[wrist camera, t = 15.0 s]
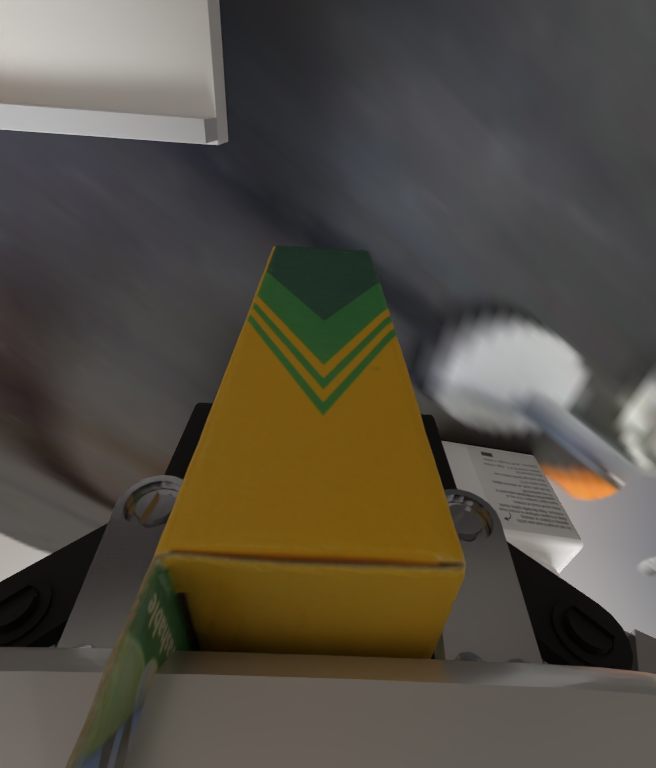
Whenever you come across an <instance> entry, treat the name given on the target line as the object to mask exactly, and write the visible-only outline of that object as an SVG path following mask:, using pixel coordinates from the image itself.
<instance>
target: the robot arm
mask: <svg viewBox="0 0 656 768" xmlns="http://www.w3.org/2000/svg"><path fill="white" fill-rule="evenodd" d="M220 385H221V384H220ZM213 403H214V402H213ZM213 403H198V404H197V405H196V406H195V408H194V410H193V412H192V415H191V417H190V419H189V421H188V424H187V426H186V428H185V430H184V432H183V435H182V437H181V439H180V441H179V444H178V446H177V448H176V450H175V453H174V455H173V457H172V459H171V461H170V464H169V466H168V468H167V470H166V473H165V475H161V476H154V477H150V478H147V479H144V480H141V481H139V482H138V483H136V484H134V485H133V486H131V487H129V488H128V489H127V490H126V491H125V492H124V493H123V494H122V495H121V497H120V498H119V500H118V502H117V503H116V505H115V508H114V510H113V512H112V515H111V517H110V520H109V522H108V523H107V524H105V525H104V526H102V527H100V528H98V529H96V530H94V531H93V532H91V533H89V534H87V535H85V536H84V537H82V538H80V539H78V540H76V541H74V542H73V543H71V544H69V545H67V546H65V547H63V548H62V549H60V550H58V551H56V552H54V553H52V554H51V555H49V556H47V557H45V558H43V559H41V560H40V561H38V562H36V563H34V564H32V565H31V566H29V567H27V568H25V569H23V570H21V571H20V572H18V573H16V574H14V575H12V576H10V577H9V578H7V579H5V580H3V581H1V582H0V768H65V767H66V765H67V762H68V760H69V758H70V755H71V753H72V751H73V749H74V746H75V744H76V742H77V739H78V737H79V735H80V733H81V730H82V728H83V726H84V723H85V721H86V719H87V716H88V713H89V711H90V708H91V705H92V703H93V700H94V697H95V694H96V692H97V689H98V686H99V683H100V680H101V677H102V674H103V671H104V668H105V666H106V663H107V661H108V659H109V656H110V654H111V652H112V650H113V647H114V645H115V643H116V641H117V639H118V637H119V635H120V633H121V631H122V629H123V627H124V625H125V622H126V620H127V618H128V616H129V613H130V611H131V609H132V606H133V604H134V602H135V599H136V597H137V595H138V592H139V590H140V587H141V585H142V582H143V580H144V577H145V575H146V573H147V570H148V568H149V566H150V564H151V561H152V559H153V557H154V554H155V551H156V549H157V546H158V543H159V541H160V538H161V536H162V533H163V531H164V528H165V526H166V523H167V521H168V519H169V516H170V514H171V511H172V509H173V506H174V504H175V501H176V498H177V496H178V493H179V490H180V487H181V485H182V482H183V480H184V477H185V474H186V472H187V469H188V467H189V464H190V462H191V459H192V457H193V454H194V452H195V450H196V447H197V445H198V442H199V440H200V437H201V434H202V431H203V429H204V426H205V423H206V420H207V418H208V415H209V413H210V410H211V408H212V405H213ZM421 417H422V421H423V425H424V428H425V432H426V435H427V438H428V441H429V444H430V447H431V450H432V453H433V456H434V460H435V463H436V466H437V469H438V473H439V476H440V479H441V482H442V485H443V489H444V492H445V495H446V498H447V502H448V505H449V509H450V512H451V516H452V520H453V523H454V526H455V529H456V532H457V535H458V538H459V541H460V544H461V547H462V550H463V554H464V558H465V561H466V568H465V576H464V580H463V582H462V584H461V586H460V588H459V591H458V594H457V596H456V598H455V601H454V603H453V605H452V610H451V613H450V615H449V617H448V619H447V621H446V623H445V626H444V628H443V631H442V635H441V636H440V638H439V640H438V643H437V646H436V649H435V651H434V653H433V655H432V657H431V659H412V658H386V657H358V656H329V655H300V654H270V653H240V652H208V651H175V652H173V653H172V654H171V655H170V656H169V657H168V658H167V659H166V660H165V661H164V662H163V663H162V665H161V666H160V667H159V668H158V669H157V670H156V671H155V673H154V674H153V677H152V680H151V683H150V686H149V689H148V692H147V695H146V698H145V702H144V705H143V708H142V711H141V714H140V717H139V720H138V723H137V726H136V729H135V732H134V735H133V738H132V741H131V744H130V747H129V750H128V753H127V756H126V759H125V762H124V765H123V768H656V639H655V638H653V637H651V636H649V635H646V634H644V633H642V632H640V631H638V630H634V631H633V632H631V633H628V632H626V631H624V630H623V628H622V627H621V626H620V625H619V623H618V622H617V621H616V620H615V619H614V617H613V616H612V615H611V614H610V613H609V612H607V611H606V610H605V609H604V608H603V607H601V606H600V605H599V604H598V603H596V602H595V601H593V600H592V599H590V598H589V597H587V596H586V595H585V594H583V593H582V592H580V591H579V590H577V589H576V588H574V587H573V586H571V585H570V584H568V583H567V582H566V581H564V580H563V579H561V578H560V577H558V576H557V575H556V574H554V573H553V572H551V571H550V570H548V569H547V568H545V567H544V566H542V565H541V564H540V563H538V562H537V561H535V560H534V559H532V558H531V557H529V556H528V555H527V554H525V553H524V552H522V551H521V550H519V549H518V548H516V547H515V546H513V545H512V544H511V543H509V542H508V541H506V537H505V534H504V531H503V527H502V524H501V521H500V519H499V517H498V515H497V512H496V511H495V510H494V509H493V508H492V506H491V505H490V504H489V503H488V502H486V501H485V500H484V499H482V498H481V497H480V496H477V495H475V494H473V493H471V492H469V491H464V490H460V489H457V487H456V484H455V481H454V478H453V475H452V471H451V468H450V465H449V462H448V459H447V456H446V453H445V450H444V447H443V444H442V441H441V438H440V435H439V432H438V429H437V426H436V423H435V420H434V418H433V416H432V415H423V414H421Z"/></svg>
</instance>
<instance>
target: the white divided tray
mask: <svg viewBox="0 0 656 768" xmlns="http://www.w3.org/2000/svg"><path fill="white" fill-rule="evenodd" d="M0 129H5V130H18V131H32V132H46V133H59V134H73V135H87V136H100V137H114V138H128V139H141V140H155V141H169V142H182V143H196V144H210V145H220V144H223V143H226V142H228V128H227V113H226V97H225V82H224V66H223V51H222V35H221V20H220V4H219V0H0Z"/></svg>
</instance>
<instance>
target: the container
mask: <svg viewBox="0 0 656 768" xmlns="http://www.w3.org/2000/svg"><path fill="white" fill-rule="evenodd" d="M442 444H443V447H444V450H445V453H446V456H447V459H448V462H449V465H450V468H451V471H452V475H453V478H454V481H455V484H456V487H457V489H460V490H464V491H469V492H471V493H473V494H475V495H477V496H480V497H481V498H482V499H484V500H485V501H486V502H488V503H489V504H490V505H491V506H492V508H493V509H494V510H495V511H496V512H497V515H498V517H499V519H500V521H501V524H502V527H503V531H504V534H505V537H506V541H508V542H509V543H511V544H512V545H513V546H515V547H516V548H518V549H519V550H521V551H522V552H524V553H525V554H527V555H528V556H529V557H531V558H532V559H534V560H535V561H537V562H538V563H540V564H541V565H542V566H544V567H545V568H547V569H548V570H550V571H551V572H553V573H554V574H556V575H557V576H558V577H560V575H559V573H560V572H561V570H562V569H563V568H564V567H565V566H566V565H567V564H568V563H569V562H570V561H571V560H572V559H573V557H574V556H575V555H576V554H577V553H578V552H579V551H580V550H581V549H582V547H583V542H582V540H581V538H580V536H579V535H578V533H577V531H576V529H575V528H574V526H573V524H572V522H571V521H570V519H569V517H568V515H567V513H566V512H565V510H564V508H563V507H562V505H561V503H560V501H559V499H558V497H557V496H556V494H555V492H554V490H553V489H552V487H551V485H550V483H549V482H548V480H547V478H546V476H545V475H544V473H543V471H542V469H541V467H540V466H539V464H538V462H537V460H536V459H535V457H534V456H532V455H528V454H522V453H516V452H509V451H503V450H497V449H491V448H484V447H478V446H472V445H466V444H460V443H453V442H447V441H442Z"/></svg>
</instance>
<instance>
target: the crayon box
mask: <svg viewBox="0 0 656 768" xmlns="http://www.w3.org/2000/svg"><path fill="white" fill-rule="evenodd" d="M465 568H466V561H465V558H464V554H463V550H462V547H461V544H460V541H459V538H458V535H457V532H456V529H455V526H454V523H453V520H452V516H451V512H450V509H449V505H448V502H447V498H446V495H445V492H444V489H443V485H442V482H441V479H440V476H439V473H438V469H437V466H436V463H435V460H434V456H433V453H432V450H431V447H430V444H429V441H428V438H427V435H426V432H425V428H424V425H423V421H422V417H421V413H420V410H419V406H418V403H417V401H416V397H415V393H414V390H413V387H412V384H411V380H410V377H409V374H408V370H407V367H406V363H405V361H404V358H403V355H402V351H401V347H400V345H399V342H398V339H397V336H396V333H395V329H394V326H393V323H392V320H391V316H390V313H389V310H388V308H387V304H386V300H385V297H384V294H383V290H382V287H381V284H380V281H379V278H378V275H377V272H376V269H375V266H374V263H373V260H372V257H371V254H370V252H369V251H365V250H342V249H327V248H307V247H288V246H274V247H273V248H272V251H271V254H270V256H269V259H268V262H267V265H266V267H265V270H264V273H263V275H262V277H261V280H260V282H259V285H258V288H257V291H256V293H255V296H254V299H253V302H252V305H251V307H250V310H249V312H248V315H247V318H246V320H245V323H244V326H243V328H242V330H241V333H240V335H239V338H238V341H237V344H236V346H235V348H234V351H233V353H232V356H231V359H230V361H229V364H228V366H227V369H226V371H225V374H224V377H223V379H222V382H221V385H220V387H219V390H218V392H217V395H216V397H215V400H214V403H213V405H212V408H211V410H210V413H209V415H208V418H207V420H206V423H205V426H204V429H203V431H202V434H201V437H200V440H199V442H198V445H197V447H196V450H195V452H194V454H193V457H192V459H191V462H190V464H189V467H188V469H187V472H186V474H185V477H184V480H183V482H182V485H181V487H180V490H179V493H178V496H177V498H176V501H175V504H174V506H173V509H172V511H171V514H170V516H169V519H168V521H167V523H166V526H165V528H164V531H163V533H162V536H161V538H160V541H159V543H158V546H157V549H156V551H155V554H154V557H153V559H152V561H151V564H150V566H149V568H148V570H147V573H146V575H145V577H144V580H143V582H142V585H141V587H140V590H139V592H138V595H137V597H136V599H135V602H134V604H133V606H132V609H131V611H130V613H129V616H128V618H127V620H126V622H125V625H124V627H123V629H122V631H121V633H120V635H119V637H118V639H117V641H116V643H115V645H114V647H113V650H112V652H111V654H110V656H109V659H108V661H107V663H106V666H105V668H104V671H103V674H102V677H101V680H100V683H99V686H98V689H97V692H96V694H95V697H94V700H93V703H92V705H91V708H90V711H89V713H88V716H87V719H86V721H85V723H84V726H83V728H82V730H81V733H80V735H79V737H78V739H77V742H76V744H75V746H74V749H73V751H72V753H71V755H70V758H69V760H68V762H67V765H66V767H65V768H123V765H124V762H125V759H126V756H127V753H128V750H129V747H130V744H131V741H132V738H133V735H134V732H135V729H136V726H137V723H138V720H139V717H140V714H141V711H142V708H143V705H144V702H145V698H146V695H147V692H148V689H149V686H150V683H151V680H152V677H153V674H154V673H155V671H156V670H157V669H158V668H159V667H160V666H161V665H162V663H163V662H164V661H165V660H166V659H167V658H168V657H169V656H170V655H171V654H172V653H173V652H175V651H208V652H240V653H270V654H300V655H329V656H358V657H386V658H412V659H431V657H432V655H433V653H434V651H435V649H436V646H437V643H438V640H439V638H440V636H441V635H442V631H443V628H444V626H445V623H446V621H447V619H448V617H449V615H450V613H451V610H452V605H453V603H454V601H455V598H456V596H457V594H458V591H459V588H460V586H461V584H462V582H463V580H464V576H465Z"/></svg>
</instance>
